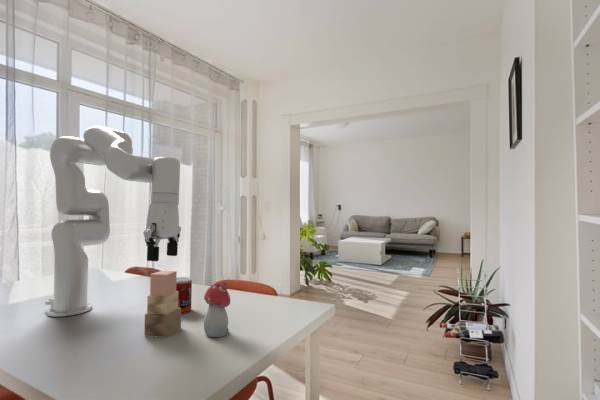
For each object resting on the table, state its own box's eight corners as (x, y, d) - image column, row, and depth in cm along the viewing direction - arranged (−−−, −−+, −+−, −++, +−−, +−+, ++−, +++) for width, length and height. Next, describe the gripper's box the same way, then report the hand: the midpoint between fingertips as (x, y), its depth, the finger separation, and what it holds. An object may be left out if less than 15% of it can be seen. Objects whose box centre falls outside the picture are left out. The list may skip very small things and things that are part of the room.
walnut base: (144, 335, 88) (144, 314, 89) (159, 326, 95) (159, 306, 96) (167, 337, 87) (168, 315, 88) (180, 328, 94) (181, 307, 95)
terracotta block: (150, 295, 90) (150, 274, 90) (160, 291, 95) (161, 270, 95) (166, 296, 89) (166, 274, 89) (176, 291, 94) (176, 271, 94)
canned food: (183, 315, 105) (184, 282, 106) (162, 313, 107) (162, 281, 107) (195, 308, 113) (196, 277, 113) (175, 307, 115) (176, 276, 115)
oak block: (147, 313, 89) (147, 295, 89) (159, 307, 95) (159, 290, 95) (167, 314, 88) (167, 296, 88) (178, 308, 94) (178, 291, 94)
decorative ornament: (233, 336, 88) (234, 282, 88) (210, 342, 84) (210, 285, 85) (222, 326, 96) (222, 276, 96) (200, 330, 92) (200, 279, 93)
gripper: (169, 200, 102) (167, 253, 102) (133, 198, 85) (131, 262, 84) (191, 200, 101) (189, 254, 100) (159, 199, 84) (157, 264, 83)
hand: (162, 258), depth 92 cm, fingers open, 9 cm apart
